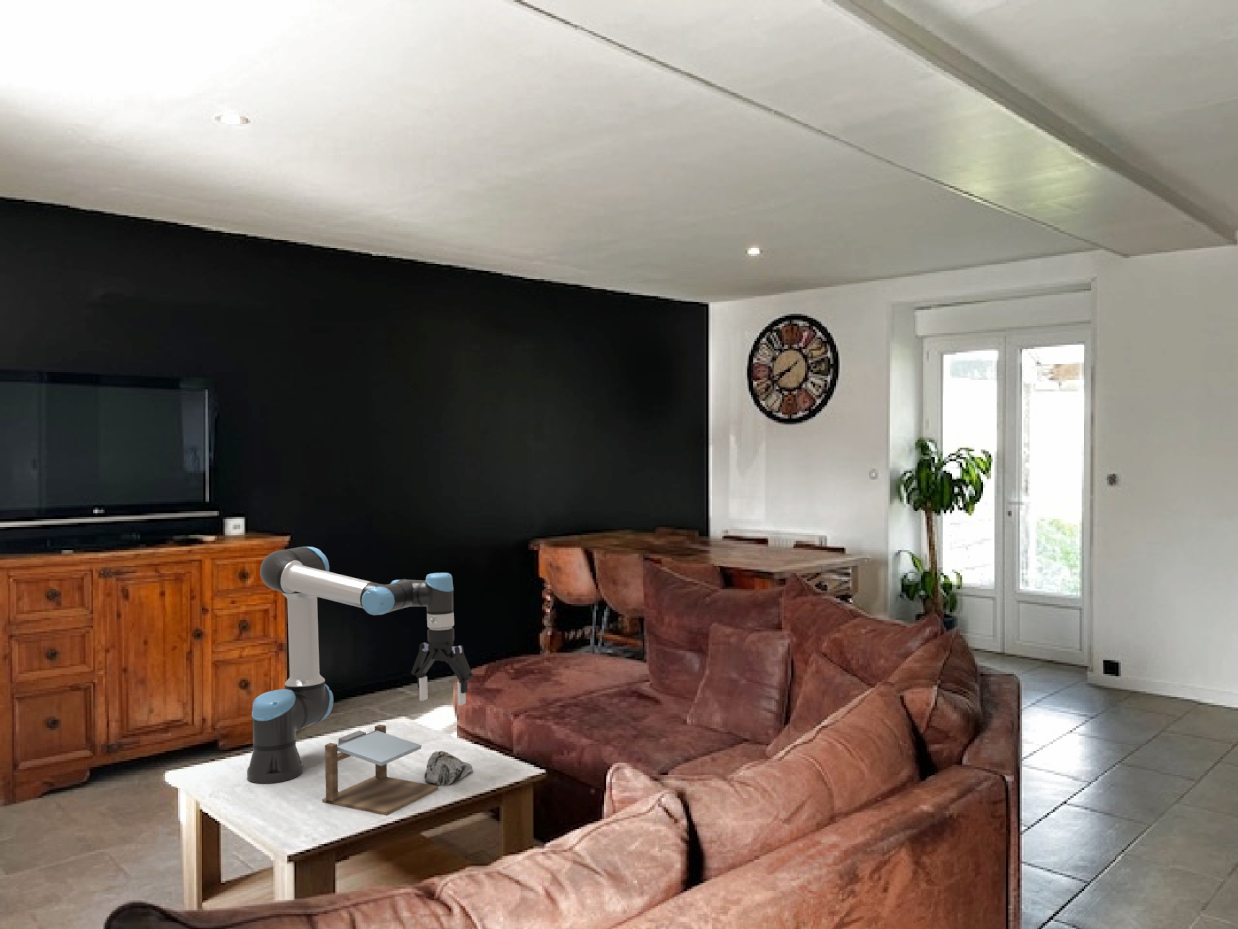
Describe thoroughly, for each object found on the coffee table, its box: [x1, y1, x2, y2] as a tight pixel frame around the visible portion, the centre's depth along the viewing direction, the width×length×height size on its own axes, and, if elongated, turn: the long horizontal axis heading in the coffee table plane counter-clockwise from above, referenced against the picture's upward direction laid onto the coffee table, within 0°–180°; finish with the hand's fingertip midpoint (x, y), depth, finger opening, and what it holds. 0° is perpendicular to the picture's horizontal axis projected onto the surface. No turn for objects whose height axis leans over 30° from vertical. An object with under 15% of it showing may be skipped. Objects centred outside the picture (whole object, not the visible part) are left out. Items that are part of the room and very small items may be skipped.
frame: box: [321, 724, 439, 816], centre depth 252 cm, size 22×21×15 cm
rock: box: [423, 750, 473, 786], centre depth 266 cm, size 15×10×7 cm
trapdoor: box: [337, 729, 422, 766], centre depth 253 cm, size 19×17×2 cm
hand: (442, 702), depth 266 cm, fingers open, 13 cm apart
